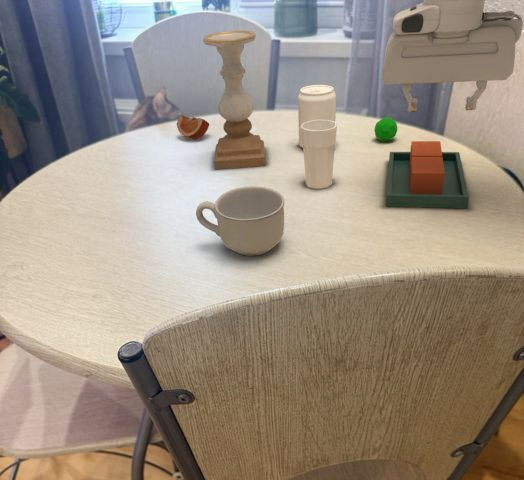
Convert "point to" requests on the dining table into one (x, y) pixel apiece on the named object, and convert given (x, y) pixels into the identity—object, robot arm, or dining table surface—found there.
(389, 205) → the tray
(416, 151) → the orange rectangular block
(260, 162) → the candle holder
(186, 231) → the dining table surface
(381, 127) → the polyhedron
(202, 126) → the fruit slice
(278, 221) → the teacup
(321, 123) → the cup
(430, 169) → the orange block
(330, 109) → the beverage can
